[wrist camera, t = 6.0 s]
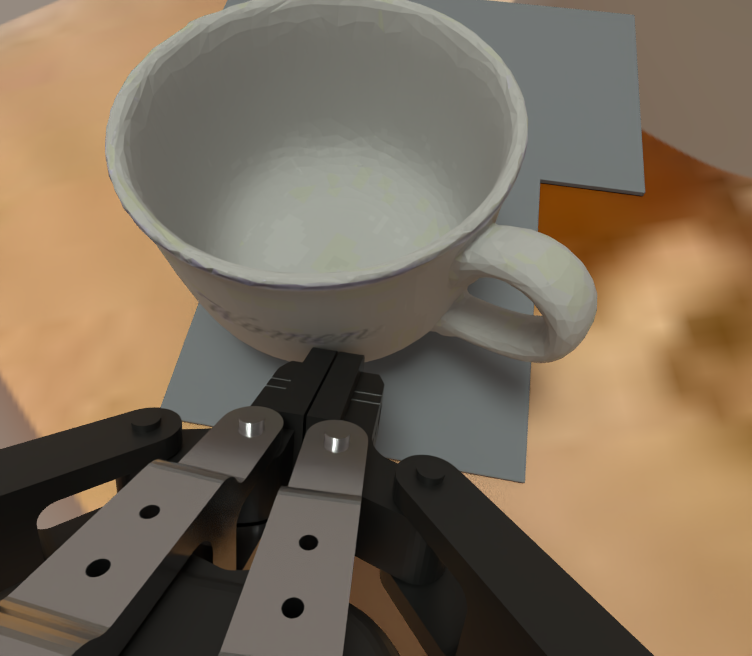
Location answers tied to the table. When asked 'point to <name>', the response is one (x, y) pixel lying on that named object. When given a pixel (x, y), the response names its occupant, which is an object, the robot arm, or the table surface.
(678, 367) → the table surface
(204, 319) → the t mat
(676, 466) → the table surface
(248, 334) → the teacup
